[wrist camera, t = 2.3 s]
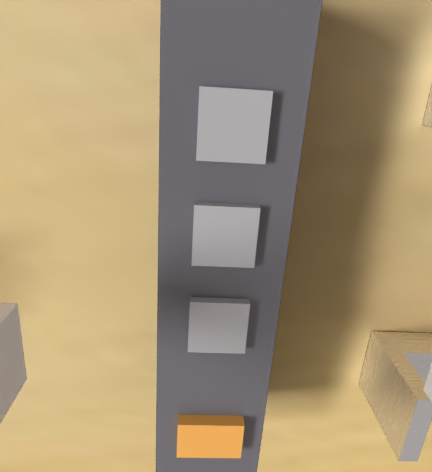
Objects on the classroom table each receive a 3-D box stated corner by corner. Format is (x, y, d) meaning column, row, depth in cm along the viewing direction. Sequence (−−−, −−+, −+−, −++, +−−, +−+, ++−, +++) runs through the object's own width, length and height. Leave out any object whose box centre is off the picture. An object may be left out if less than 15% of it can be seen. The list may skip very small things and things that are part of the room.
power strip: (173, -14, 17) (159, -61, 11) (287, -5, 18) (334, -46, 12) (165, 388, 26) (154, 487, 19) (243, 390, 26) (257, 488, 20)
